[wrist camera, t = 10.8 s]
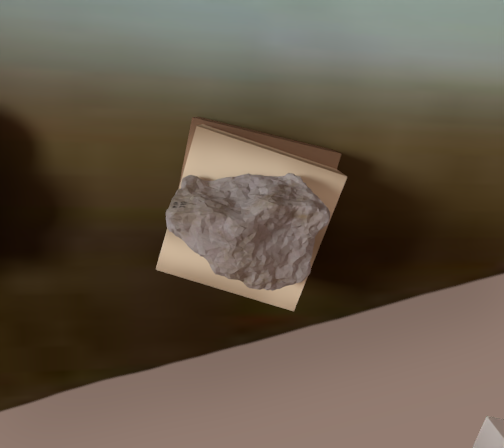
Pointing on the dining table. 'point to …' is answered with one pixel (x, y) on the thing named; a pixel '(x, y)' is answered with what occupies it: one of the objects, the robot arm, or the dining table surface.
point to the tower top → (235, 164)
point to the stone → (250, 226)
